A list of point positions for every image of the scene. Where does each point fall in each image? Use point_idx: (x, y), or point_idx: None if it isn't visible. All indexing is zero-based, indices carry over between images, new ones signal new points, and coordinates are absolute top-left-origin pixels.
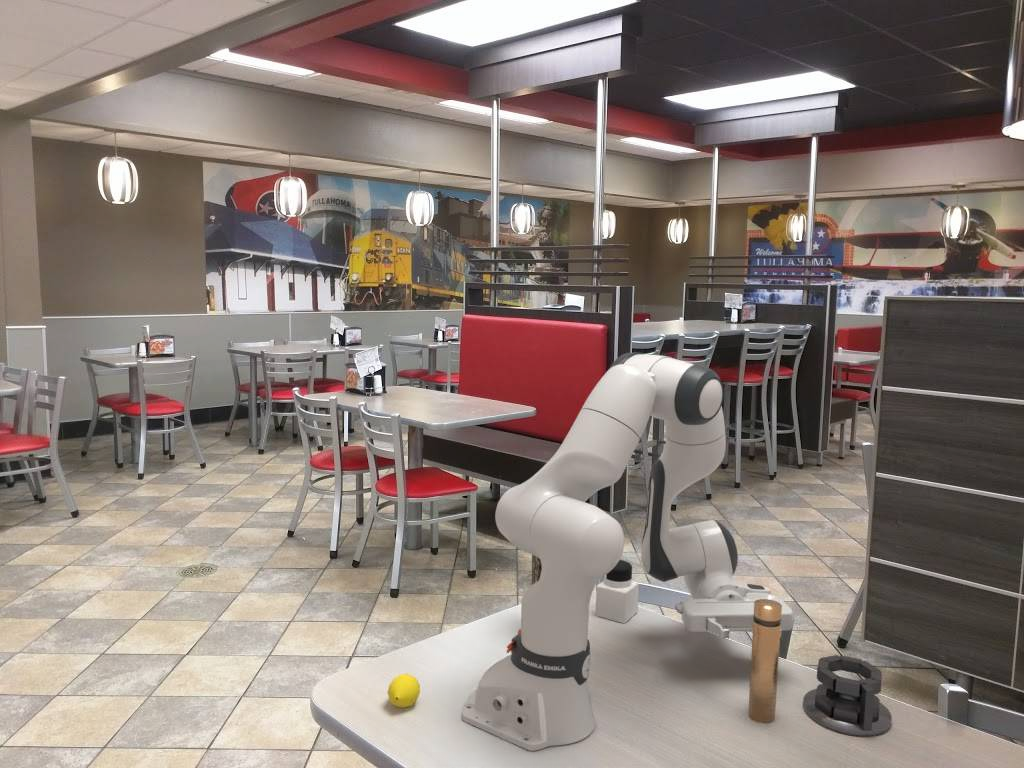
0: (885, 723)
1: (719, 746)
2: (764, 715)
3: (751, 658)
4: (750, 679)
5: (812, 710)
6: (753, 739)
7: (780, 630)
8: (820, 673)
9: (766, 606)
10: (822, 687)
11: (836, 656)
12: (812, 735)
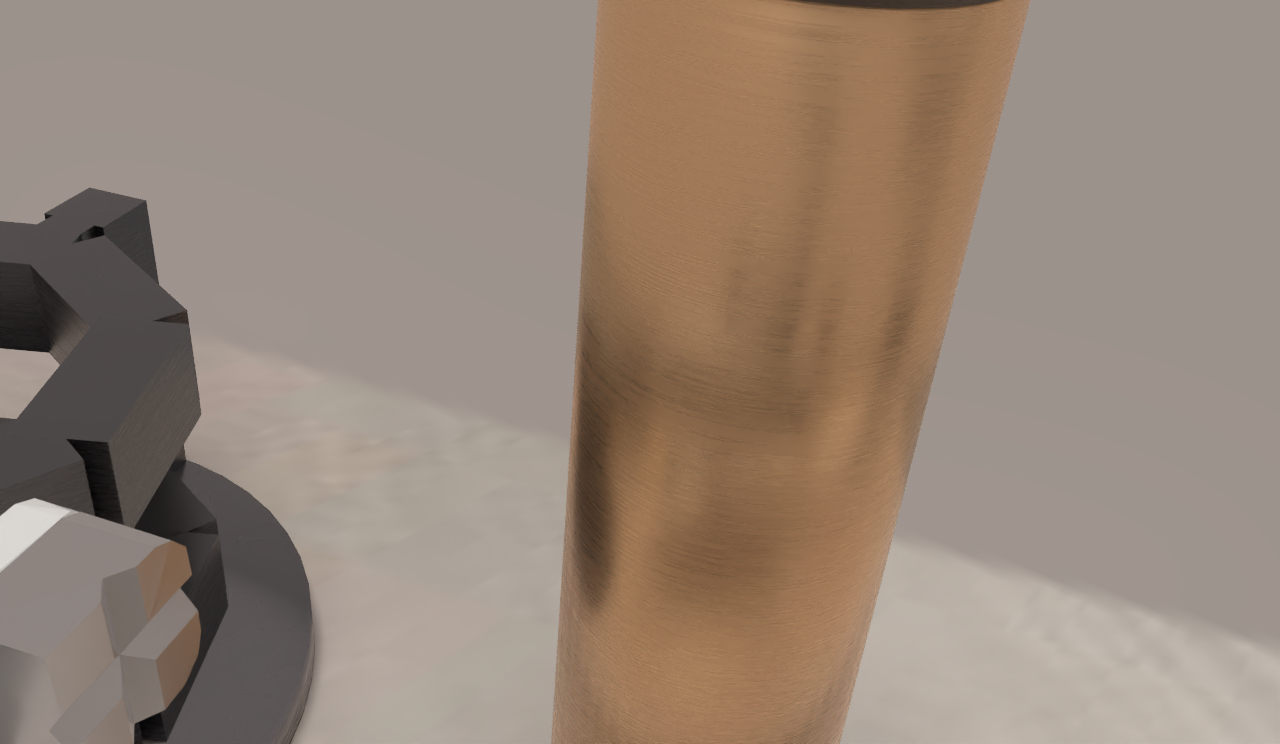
0: None
1: (1219, 736)
2: None
3: (893, 525)
4: (843, 720)
5: (242, 720)
6: (926, 709)
7: (65, 508)
8: (127, 445)
9: None
10: None
11: None
12: (481, 603)
